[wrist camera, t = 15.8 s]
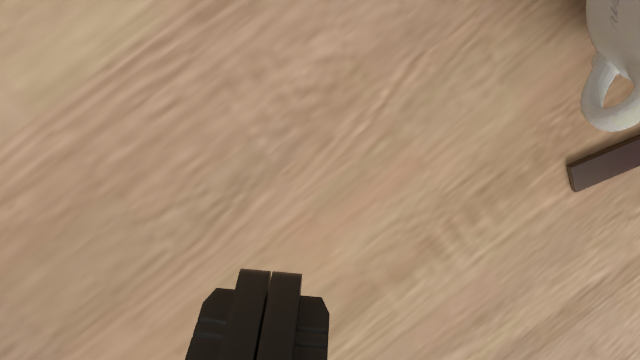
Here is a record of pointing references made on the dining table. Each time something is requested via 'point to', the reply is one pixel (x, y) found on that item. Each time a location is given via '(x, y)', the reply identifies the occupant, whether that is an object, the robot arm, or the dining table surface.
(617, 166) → the walnut frame
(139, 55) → the dining table surface
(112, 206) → the dining table surface
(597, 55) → the teacup
